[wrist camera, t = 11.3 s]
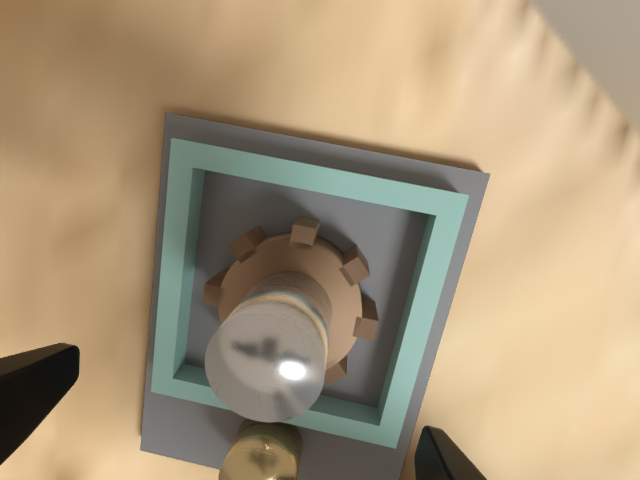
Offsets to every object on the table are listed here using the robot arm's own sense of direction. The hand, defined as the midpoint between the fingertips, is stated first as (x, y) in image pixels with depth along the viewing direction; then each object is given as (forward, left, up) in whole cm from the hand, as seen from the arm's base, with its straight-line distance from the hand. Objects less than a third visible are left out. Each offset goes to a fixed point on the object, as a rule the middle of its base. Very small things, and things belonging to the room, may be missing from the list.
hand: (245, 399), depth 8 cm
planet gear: (0, 0, -7) cm, 7 cm away
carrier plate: (0, +2, -8) cm, 8 cm away
